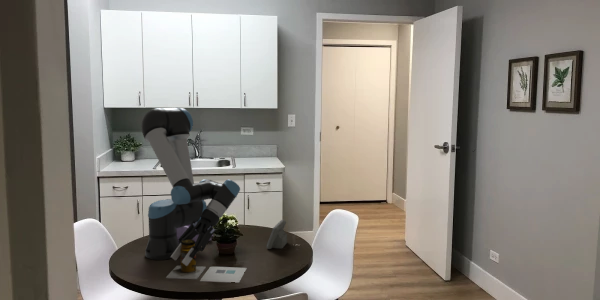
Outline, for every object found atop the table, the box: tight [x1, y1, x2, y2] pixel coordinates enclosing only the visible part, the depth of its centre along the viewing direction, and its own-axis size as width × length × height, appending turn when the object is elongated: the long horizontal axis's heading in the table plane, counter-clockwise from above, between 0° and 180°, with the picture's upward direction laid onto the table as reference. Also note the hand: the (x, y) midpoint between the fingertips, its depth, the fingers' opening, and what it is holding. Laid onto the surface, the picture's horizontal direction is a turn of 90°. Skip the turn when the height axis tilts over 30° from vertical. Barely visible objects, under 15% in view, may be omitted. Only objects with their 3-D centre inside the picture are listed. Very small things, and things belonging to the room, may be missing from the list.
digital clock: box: [265, 219, 288, 250], centre depth 221 cm, size 16×9×11 cm, turn 156°
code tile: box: [199, 266, 248, 284], centre depth 184 cm, size 15×15×1 cm
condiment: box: [171, 240, 200, 276], centre depth 185 cm, size 7×8×12 cm
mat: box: [165, 265, 207, 280], centre depth 185 cm, size 12×12×1 cm
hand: (178, 261), depth 182 cm, fingers open, 7 cm apart
